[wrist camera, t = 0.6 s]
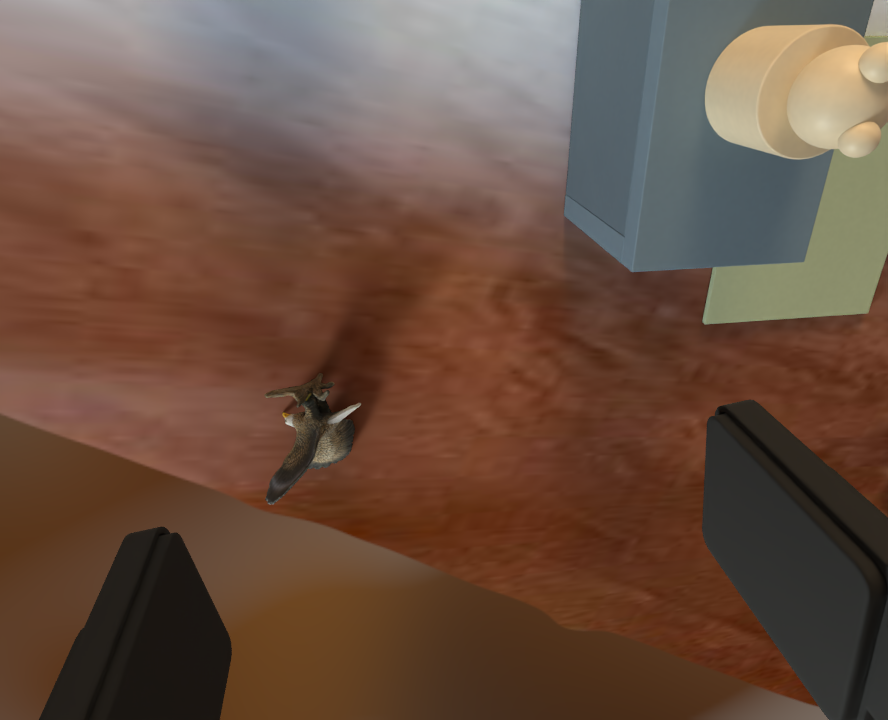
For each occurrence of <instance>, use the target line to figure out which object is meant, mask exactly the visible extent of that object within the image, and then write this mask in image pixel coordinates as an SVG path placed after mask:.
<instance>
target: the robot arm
mask: <svg viewBox="0 0 888 720" xmlns="http://www.w3.org/2000/svg"><path fill="white" fill-rule="evenodd" d="M702 531H703V537H704V540H705V543H706V545H707V547H708V549H709V550H710V552H711V553H712V555H713V556H714V558H715V559H716V560H717V562H718V563H719V565H720V566H721V568H722V569H723V570H724V572H725V573H726V575H727V576H728V578H729V579H730V580H731V582H732V583H733V585H734V586H735V588H736V589H737V590H738V592H739V593H740V595H741V596H742V597H743V599H744V600H745V602H746V603H747V605H748V606H749V607H750V609H751V610H752V612H753V613H754V615H755V616H756V617H757V619H758V620H759V622H760V623H761V625H762V626H763V627H764V629H765V630H766V632H767V633H768V634H769V636H770V637H771V639H772V640H773V642H774V643H775V644H776V646H777V647H778V649H779V650H780V652H781V653H782V654H783V656H784V657H785V659H786V660H787V662H788V663H789V664H790V666H791V667H792V669H793V670H794V671H795V673H796V674H797V676H798V677H799V679H800V680H801V681H802V683H803V684H804V686H805V687H806V689H807V690H808V691H809V693H810V694H811V696H812V697H813V699H814V700H815V701H816V703H817V704H818V706H819V707H820V709H821V710H822V711H823V712H824V714H825V715H826V717H827V718H828V719H829V720H888V518H887V517H886V516H885V515H884V514H883V513H882V512H881V511H880V510H878V509H877V508H876V507H875V506H874V505H873V504H872V503H871V502H870V501H868V500H867V499H866V498H865V497H864V496H863V495H862V494H861V493H859V492H858V491H857V490H856V489H855V488H854V487H853V486H852V485H850V484H849V483H848V482H847V481H846V480H845V479H844V478H843V477H842V476H840V475H839V474H838V473H837V472H836V471H835V470H833V469H832V468H831V467H829V466H828V465H827V464H825V463H824V462H823V461H822V460H821V459H820V458H819V457H818V456H816V455H815V454H814V453H813V452H812V451H811V450H810V449H809V448H808V447H806V446H805V445H804V444H803V443H802V442H801V441H800V440H799V439H798V438H796V437H795V436H794V435H793V434H792V433H791V432H790V431H789V430H787V429H786V428H785V427H784V426H783V425H782V424H781V423H780V422H779V421H777V420H776V419H775V418H774V417H773V416H772V415H771V414H770V413H768V412H767V411H766V410H765V409H764V408H763V407H762V406H761V405H760V404H758V403H757V402H755V401H754V400H746V401H741V402H737V403H732V404H727V405H723V406H720V407H718V408H717V410H716V412H715V416H711V417H709V419H708V422H707V437H706V459H705V480H704V502H703V524H702ZM231 649H232V648H231V641H230V637H229V635H228V632H227V631H226V628H225V626H224V624H223V622H222V620H221V618H220V616H219V614H218V612H217V610H216V608H215V605H214V603H213V601H212V599H211V597H210V595H209V593H208V591H207V589H206V587H205V585H204V583H203V581H202V579H201V577H200V575H199V573H198V570H197V568H196V566H195V564H194V562H193V560H192V558H191V556H190V554H189V552H188V550H187V548H186V546H185V544H184V542H183V540H182V538H181V536H180V535H179V534H178V533H171V534H170V532H169V531H168V530H167V529H166V528H165V527H158V528H153V529H148V530H144V531H139V532H134V533H130V534H128V535H127V536H126V537H125V538H124V540H123V542H122V544H121V546H120V548H119V551H118V553H117V555H116V557H115V560H114V562H113V564H112V566H111V569H110V571H109V573H108V575H107V578H106V580H105V582H104V584H103V586H102V589H101V591H100V593H99V596H98V598H97V600H96V602H95V604H94V607H93V609H92V611H91V613H90V616H89V618H88V620H87V622H86V625H85V627H84V628H83V629H82V630H81V631H80V633H79V634H78V636H77V637H76V639H75V641H74V644H73V646H72V648H71V650H70V652H69V655H68V657H67V659H66V661H65V664H64V666H63V668H62V670H61V672H60V674H59V677H58V679H57V681H56V683H55V685H54V688H53V690H52V692H51V694H50V697H49V699H48V701H47V703H46V705H45V708H44V710H43V712H42V714H41V717H40V719H39V720H220V715H221V709H222V704H223V698H224V694H225V688H226V683H227V678H228V672H229V667H230V662H231V655H232V652H231V651H232V650H231Z"/></svg>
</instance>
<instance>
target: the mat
mask: <svg viewBox="0 0 888 720" xmlns="http://www.w3.org/2000/svg"><path fill="white" fill-rule="evenodd" d="M864 39H865V40H866V42H867V43H868V45H869V46H870V47H871V46H873V45H875V44H878V43H882V42H888V36H864ZM880 130H881V140H880V142H879V144H878V146H877V147H876V149H875V150H874V151H872V152H871V153H870V154H868V155H866V156H863V157H859V158H852V157H848V156H846V155H844V154H843V153H842V152H841V151H840V150H839V149H834V152H833V156H832V159H831V163H830V167H829V171H828V175H827V178H826V182H825V186H824V190H823V193H822V197H821V201H820V205H819V208H818V212H817V216H816V220H815V223H814V227H813V231H812V235H811V238H810V242H809V246H808V250H807V254H806V257H805V261H804V262H799V263H781V264H764V265H746V266H729V267H713V270H712V275H711V280H710V285H709V290H708V295H707V300H706V305H705V311H704V316H703V321H702V322H703V323H704V324H717V323H732V322H746V321H761V320H776V319H791V318H806V317H820V316H835V315H850V314H865V313H868V312H869V308H870V305H871V302H872V299H873V296H874V293H875V290H876V287H877V284H878V281H879V278H880V275H881V272H882V269H883V266H884V263H885V260H886V257H887V253H888V122H887V123H886V124H885V125H884V126H883V127H882V128H881V129H880Z"/></svg>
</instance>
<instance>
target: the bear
mask: <svg viewBox="0 0 888 720" xmlns="http://www.w3.org/2000/svg"><path fill="white" fill-rule="evenodd" d="M705 109H706V114H707V118H708V120H709V122H710V124H711V126H712V128H713V129H714V131H715V132H716V133H717V134H718V135H719V136H720V137H722V138H723V139H725V140H727V141H729V142H731V143H734V144H738V145H741V146H745V147H748V148H752V149H756V150H759V151H763V152H766V153H770V154H773V155H777V156H780V157H784V158H788V159H798V160H800V159H808V158H812V157H815V156H818V155H821V154H823V153H825V152H827V151H829V150H831V149H839V150H840V151H841V152H842V153H843V154H844V155H846V156H848V157H852V158H859V157H863V156H866V155H868V154H870V153H871V152H872V151H874V150H875V149H876V147H877V146H878V144H879V142H880V140H881V130H880V129H881V128H882V127H883V126H884V125H885V124H886V123H887V122H888V42H882V43H878V44H875V45H873V46H871V47H870V46H869V45H868V43H867V42H866V40H865V39H864V38H863V37H862V36H861V35H860V34H859V33H858V32H856V31H855V30H853V29H851V28H849V27H846V26H842V25H834V24H827V25H779V26H762V27H758V28H754V29H752V30H749V31H747V32H745V33H744V34H742V35H740V36H739V37H737V38H736V39H735V40H734V41H732V42H731V43H730V44H729V45H728V46H727V47H726V48H725V49H724V51H723V52H722V53H721V54H720V56H719V57H718V59H717V60H716V62H715V64H714V65H713V67H712V70H711V72H710V74H709V77H708V80H707V84H706V89H705Z"/></svg>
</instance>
